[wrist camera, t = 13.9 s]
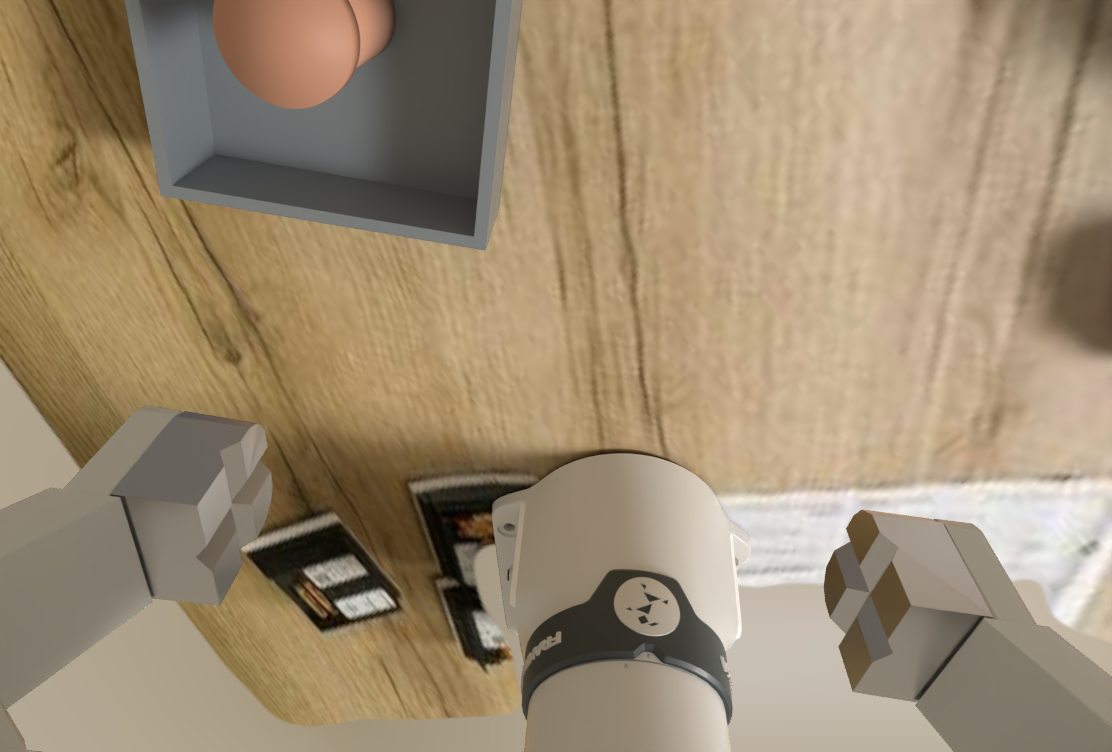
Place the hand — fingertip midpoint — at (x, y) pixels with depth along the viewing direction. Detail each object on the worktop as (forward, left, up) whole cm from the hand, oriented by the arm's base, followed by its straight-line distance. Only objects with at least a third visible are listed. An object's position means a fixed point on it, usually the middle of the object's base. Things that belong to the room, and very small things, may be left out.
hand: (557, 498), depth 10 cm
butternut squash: (0, +11, -28) cm, 30 cm away
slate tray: (-1, +11, -28) cm, 30 cm away
